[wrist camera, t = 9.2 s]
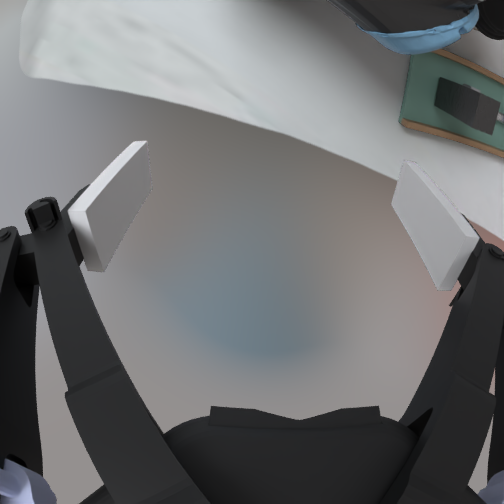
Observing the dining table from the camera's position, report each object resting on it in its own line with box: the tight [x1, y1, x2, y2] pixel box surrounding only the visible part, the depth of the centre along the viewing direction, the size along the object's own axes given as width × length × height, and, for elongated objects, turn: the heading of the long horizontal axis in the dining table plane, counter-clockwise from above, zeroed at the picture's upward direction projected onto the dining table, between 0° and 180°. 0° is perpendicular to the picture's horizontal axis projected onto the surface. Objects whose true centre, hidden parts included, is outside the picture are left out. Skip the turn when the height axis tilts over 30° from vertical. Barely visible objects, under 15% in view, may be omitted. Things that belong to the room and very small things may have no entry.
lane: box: [399, 49, 504, 158], centre depth 36 cm, size 14×28×4 cm, turn 87°
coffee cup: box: [473, 0, 504, 40], centre depth 22 cm, size 9×9×15 cm
